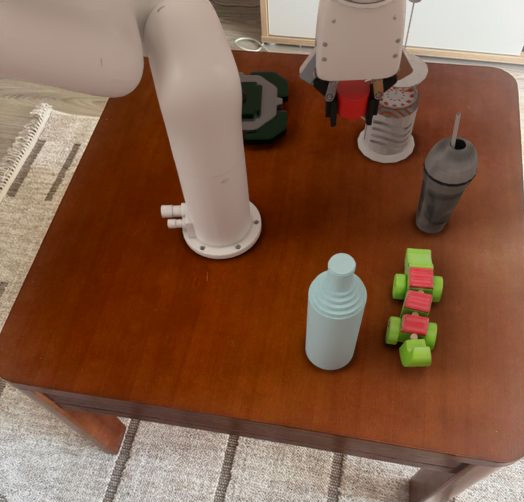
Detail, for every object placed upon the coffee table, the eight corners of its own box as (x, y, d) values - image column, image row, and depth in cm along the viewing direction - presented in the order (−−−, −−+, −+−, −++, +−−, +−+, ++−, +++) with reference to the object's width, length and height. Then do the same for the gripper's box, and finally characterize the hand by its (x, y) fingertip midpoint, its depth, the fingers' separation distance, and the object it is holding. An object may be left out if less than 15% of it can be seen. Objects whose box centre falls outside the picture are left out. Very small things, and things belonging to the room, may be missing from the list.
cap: (358, 93, 71) (361, 74, 69) (372, 113, 70) (376, 94, 67) (330, 103, 71) (331, 83, 68) (343, 123, 69) (345, 104, 66)
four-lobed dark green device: (194, 83, 101) (190, 61, 97) (288, 82, 100) (288, 59, 95) (184, 151, 93) (179, 130, 88) (286, 150, 91) (286, 128, 87)
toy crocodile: (395, 257, 80) (403, 231, 75) (440, 263, 79) (451, 238, 74) (380, 372, 72) (387, 353, 66) (429, 381, 71) (441, 362, 65)
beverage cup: (452, 243, 81) (498, 138, 63) (404, 237, 82) (436, 132, 64) (454, 207, 84) (499, 97, 66) (408, 201, 85) (440, 92, 67)
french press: (413, 165, 88) (454, 14, 66) (344, 159, 90) (361, 9, 68) (416, 125, 93) (455, -30, 70) (350, 119, 94) (368, -34, 72)
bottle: (306, 370, 73) (311, 291, 55) (304, 327, 76) (308, 238, 58) (355, 369, 72) (377, 289, 54) (352, 326, 75) (371, 237, 57)
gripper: (441, -51, 57) (408, 97, 73) (286, -42, 58) (288, 103, 74) (452, -10, 53) (415, 136, 70) (287, -1, 54) (289, 141, 71)
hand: (350, 118), depth 72 cm, fingers closed on cap, 4 cm apart
